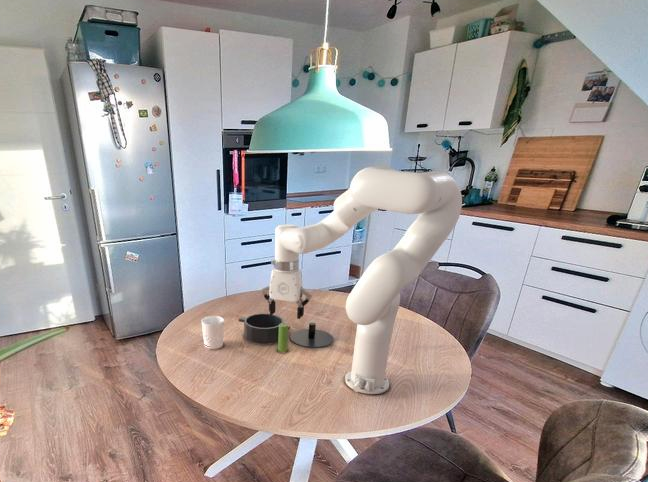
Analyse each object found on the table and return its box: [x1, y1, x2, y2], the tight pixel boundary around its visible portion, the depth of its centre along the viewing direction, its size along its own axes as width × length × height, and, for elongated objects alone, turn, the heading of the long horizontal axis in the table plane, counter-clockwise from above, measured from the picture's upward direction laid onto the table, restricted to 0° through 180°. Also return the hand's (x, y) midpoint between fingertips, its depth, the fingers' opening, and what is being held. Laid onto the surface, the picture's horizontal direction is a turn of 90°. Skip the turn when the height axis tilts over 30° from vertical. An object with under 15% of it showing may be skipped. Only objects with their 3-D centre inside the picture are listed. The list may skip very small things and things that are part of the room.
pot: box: [238, 312, 291, 345], centre depth 145 cm, size 15×20×6 cm
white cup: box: [200, 315, 225, 350], centre depth 137 cm, size 8×8×10 cm
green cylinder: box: [277, 322, 289, 353], centre depth 133 cm, size 3×3×10 cm
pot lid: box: [289, 321, 334, 349], centre depth 141 cm, size 16×16×7 cm
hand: (286, 315), depth 129 cm, fingers open, 9 cm apart
